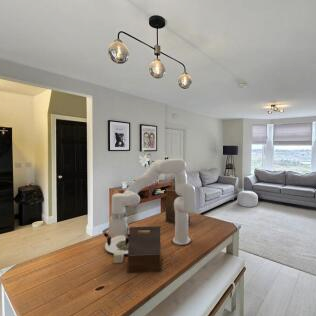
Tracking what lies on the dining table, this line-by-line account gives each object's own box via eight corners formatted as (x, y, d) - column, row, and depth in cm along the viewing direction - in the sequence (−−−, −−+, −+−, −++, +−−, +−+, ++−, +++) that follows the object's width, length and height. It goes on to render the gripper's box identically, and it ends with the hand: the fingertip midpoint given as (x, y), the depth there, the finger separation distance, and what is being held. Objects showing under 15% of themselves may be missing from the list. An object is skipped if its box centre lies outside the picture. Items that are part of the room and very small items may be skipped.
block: (115, 258, 115) (115, 251, 115) (123, 258, 116) (123, 251, 116) (113, 263, 111) (113, 255, 111) (121, 262, 111) (121, 255, 111)
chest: (132, 258, 116) (132, 244, 115) (160, 257, 117) (161, 243, 117) (128, 272, 103) (128, 255, 102) (159, 270, 104) (160, 254, 104)
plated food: (100, 259, 114) (100, 253, 114) (109, 237, 143) (109, 232, 143) (152, 253, 121) (152, 248, 121) (150, 234, 150) (150, 229, 150)
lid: (129, 227, 106) (128, 227, 101) (160, 226, 108) (160, 226, 103) (128, 254, 103) (126, 257, 98) (160, 253, 104) (159, 255, 99)
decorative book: (189, 224, 171) (190, 190, 170) (185, 227, 165) (185, 191, 164) (169, 219, 184) (169, 187, 183) (164, 221, 178) (164, 188, 177)
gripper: (135, 213, 117) (134, 241, 117) (105, 213, 115) (104, 241, 116) (132, 217, 109) (132, 247, 110) (100, 217, 108) (100, 248, 108)
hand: (118, 244), depth 113 cm, fingers open, 9 cm apart
